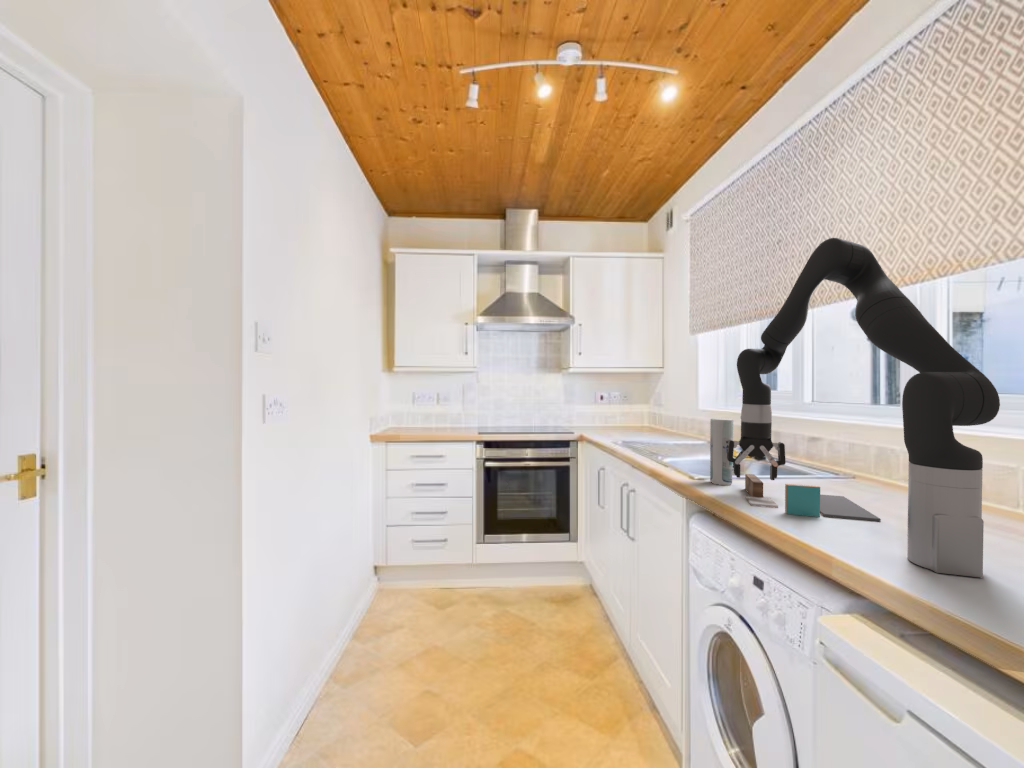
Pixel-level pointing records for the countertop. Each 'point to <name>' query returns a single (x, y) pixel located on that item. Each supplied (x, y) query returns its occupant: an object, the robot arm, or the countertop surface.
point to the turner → (757, 492)
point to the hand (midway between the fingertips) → (755, 478)
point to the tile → (802, 500)
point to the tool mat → (843, 508)
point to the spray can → (720, 451)
